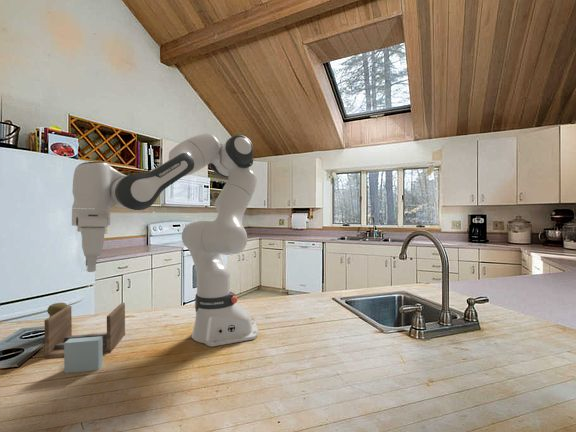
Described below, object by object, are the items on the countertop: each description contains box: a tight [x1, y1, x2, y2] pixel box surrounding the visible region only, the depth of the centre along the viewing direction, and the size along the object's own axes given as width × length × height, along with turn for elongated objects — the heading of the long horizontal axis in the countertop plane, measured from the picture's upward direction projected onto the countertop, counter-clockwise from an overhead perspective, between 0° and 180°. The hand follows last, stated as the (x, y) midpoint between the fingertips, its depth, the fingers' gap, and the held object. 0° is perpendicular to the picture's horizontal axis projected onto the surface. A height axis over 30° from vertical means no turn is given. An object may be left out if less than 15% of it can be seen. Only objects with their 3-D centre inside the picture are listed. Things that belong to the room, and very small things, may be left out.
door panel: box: [63, 336, 104, 374], centre depth 75 cm, size 8×2×8 cm, turn 102°
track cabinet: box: [44, 302, 126, 359], centre depth 88 cm, size 17×12×11 cm
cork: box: [46, 302, 68, 317], centre depth 94 cm, size 6×6×11 cm
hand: (90, 268), depth 79 cm, fingers open, 8 cm apart
